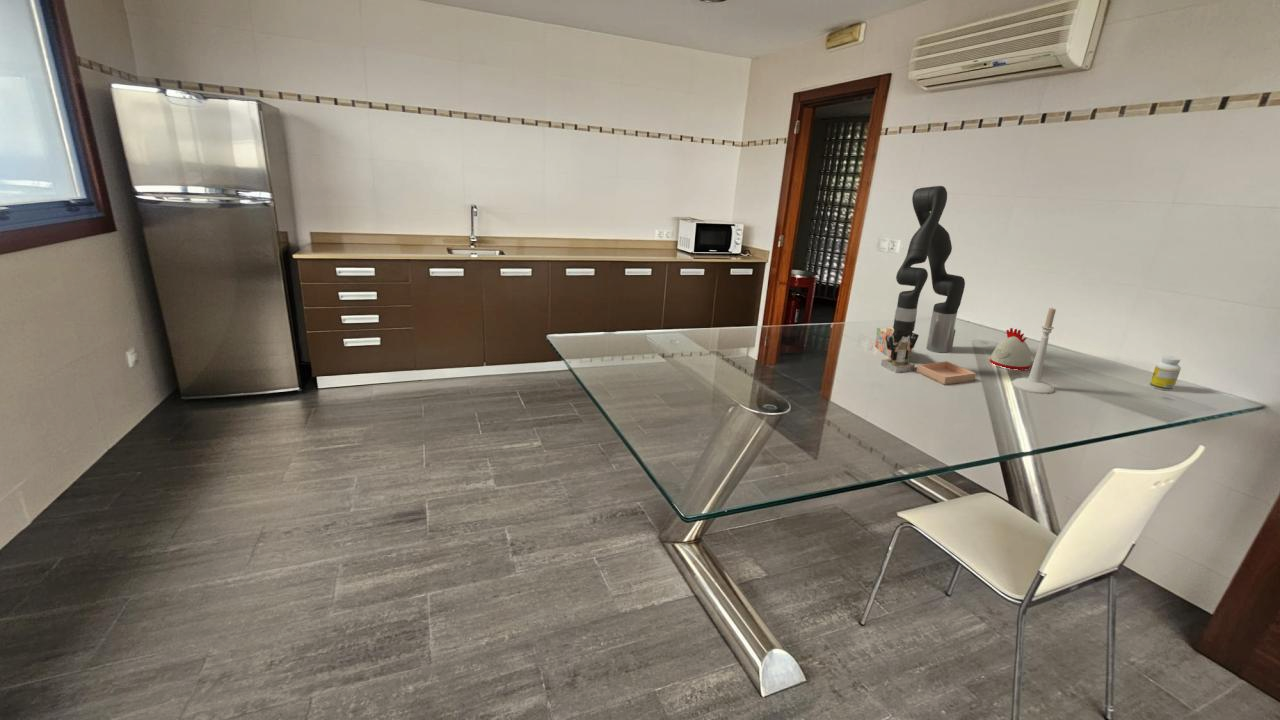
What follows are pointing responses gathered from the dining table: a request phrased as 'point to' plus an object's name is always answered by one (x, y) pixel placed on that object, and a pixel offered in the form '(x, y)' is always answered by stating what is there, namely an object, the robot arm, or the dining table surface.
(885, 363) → the grey flat square frame
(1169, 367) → the pill bottle
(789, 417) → the dining table surface
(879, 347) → the colourful printed box
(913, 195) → the robot arm
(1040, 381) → the candlestick
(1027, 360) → the kitchen timer
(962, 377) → the tray
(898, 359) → the sprinkles bottle
